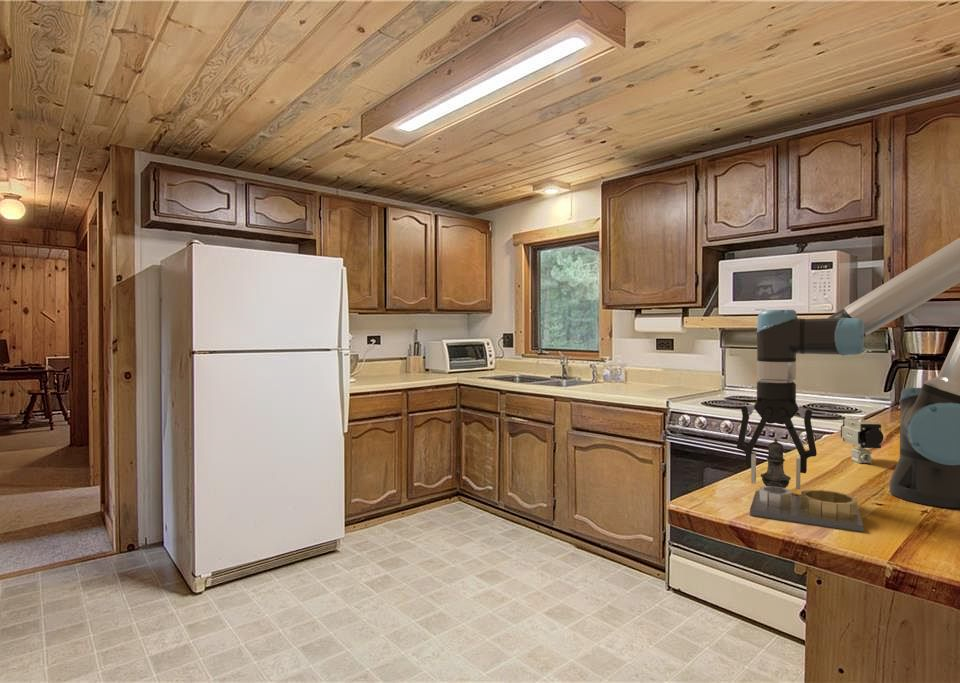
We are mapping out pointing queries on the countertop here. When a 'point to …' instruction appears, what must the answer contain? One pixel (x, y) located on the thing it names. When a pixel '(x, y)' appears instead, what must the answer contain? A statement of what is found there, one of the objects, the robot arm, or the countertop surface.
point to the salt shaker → (775, 467)
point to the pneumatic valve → (861, 437)
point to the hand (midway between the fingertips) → (775, 484)
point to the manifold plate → (803, 515)
